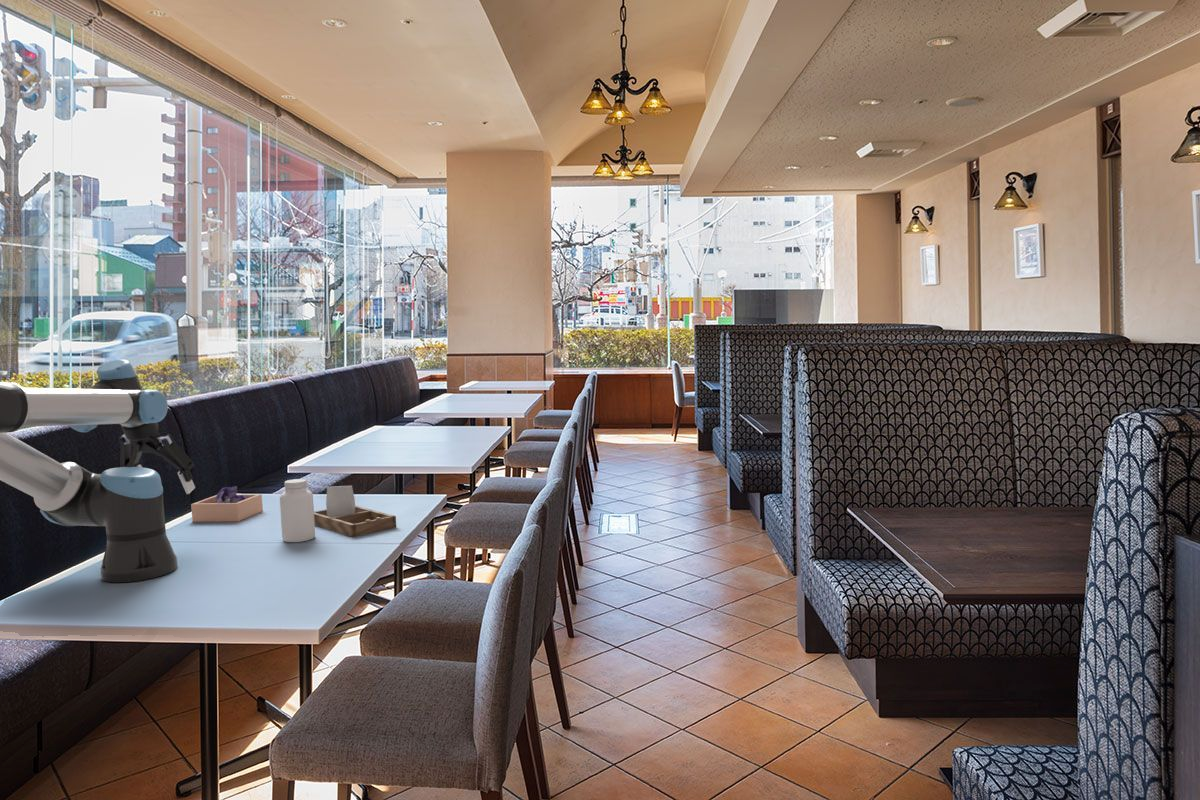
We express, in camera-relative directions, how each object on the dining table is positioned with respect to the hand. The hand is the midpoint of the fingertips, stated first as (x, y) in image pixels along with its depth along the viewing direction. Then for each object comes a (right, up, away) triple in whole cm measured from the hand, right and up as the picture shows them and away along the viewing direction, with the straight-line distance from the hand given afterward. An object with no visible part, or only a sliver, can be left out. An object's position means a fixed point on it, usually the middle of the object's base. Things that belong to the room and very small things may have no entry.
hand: (168, 489), depth 220 cm
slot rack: (+44, -11, +10) cm, 47 cm away
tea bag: (+40, -11, +14) cm, 44 cm away
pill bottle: (+35, -12, -3) cm, 37 cm away
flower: (+3, -11, +28) cm, 30 cm away
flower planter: (+3, -11, +28) cm, 30 cm away
